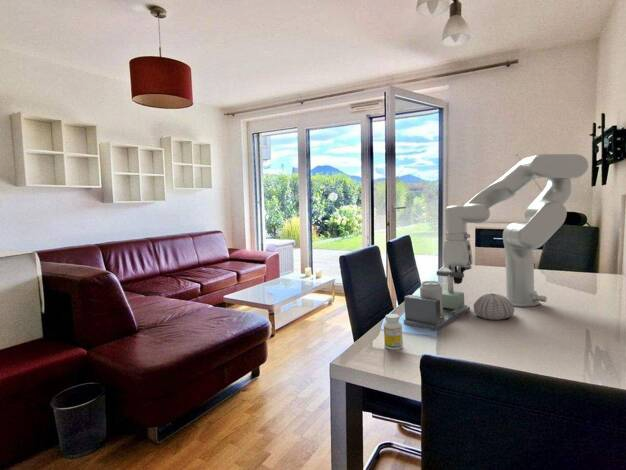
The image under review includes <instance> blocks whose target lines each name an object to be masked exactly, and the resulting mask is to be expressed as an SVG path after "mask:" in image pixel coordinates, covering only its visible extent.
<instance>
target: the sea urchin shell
mask: <svg viewBox="0 0 626 470" xmlns="http://www.w3.org/2000/svg"><path fill="white" fill-rule="evenodd" d="M472 308H473V311H474V313H475V314H476V315H477V316H478V317H480V318H483V319H485V320H493V321H495V320H505V319H508V318H510V317H512V316H513V315H514V313H515V311H516V310H515V306H513V304H512V303H511V302H510V301H509V300H508V299H507V298H506V296H504V295H502V294H497V293H487V294H486V293H485V294H483V295H481V296H480V297H478V298H477V299H476V300H475V302H474V303H473V307H472Z"/></svg>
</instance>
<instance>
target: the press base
mask: <svg viewBox="0 0 626 470" xmlns="http://www.w3.org/2000/svg"><path fill="white" fill-rule="evenodd" d="M403 299H404V300H403V302H404V303H403V304H404V316H405V318H404V319H403V325H409V326H413V327H414V326H415V327H416V328H417V327H418V328H423V329H426V330H431V331H437V330H439V329H440V328H442V327H444V326H446V325H447V324H449V323H451V322H452V321H455V320H456V319H458V318H460V317H461V316H464V315H465V314H467V313H469V312H470V311H471V307H470V306H468V304H464V305H463V306H461V307H459V308H457V309H450V308H444V307H443V314H442V315H441V313H440V300H439V299H432V298H426V297H420V295H412V294H408V295H405V296H403Z"/></svg>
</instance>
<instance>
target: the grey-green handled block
mask: <svg viewBox="0 0 626 470" xmlns="http://www.w3.org/2000/svg"><path fill="white" fill-rule="evenodd" d="M436 276H439V277H446V279H447V290H446V289H445V290H444V289H442V301H443V307H444V308H450V309H457V308H459V307H461V306H463V305H465V293H464V292H460V291H454V280H453V277H457V278H464V277H465V272H463V273H460V272H452V271H448V270H440V269H439V270H437V271H436Z"/></svg>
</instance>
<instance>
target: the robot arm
mask: <svg viewBox="0 0 626 470" xmlns="http://www.w3.org/2000/svg"><path fill="white" fill-rule="evenodd" d="M588 169H589V161H588V159H587V158H586V157H585V156H584V155H581V154H577V153H538V154H534V155H530V156H526V157H524V158H523V159H521V160H520V161H519V162H517V164H515V165H514V166H513V167H511V168H510V169H509V170H508V171H507V172H506V173H504V175H502V176H501V177H500V178H498V179H497V180H495V181H494V182H493V183H491V184H490V185H489V186H487V187H486V188H483V190H481V191H480V192H477V194H476V195H475V196H473V197H472V198H471V199H470V200H468V202H466V203H465V204H464V205H463V204H459V205H457V204H456V205H449V206H446V207H445V211H444V212H445V213H444V214H445V232H446V233H445V235H446V236H445V237H446V239H445V240H444V244H443V255H442V256H443V257H442V258H443V261H442V262H443V268H446V269H448V270H450V272H460V273H465V271H468V270H472V265H473V252H472V245H471V241H470V240H468V239H470V238H471V234H468V229H467V228H468V227H467V226H468V225H467V224H483V223H485V222H487V221H488V219H489V218H490V216H491V210H490V208H492V207H494V206H495V205H497V204H499V203H502V202H504V201H507V200H510V199H511V198H514V197H516V195H518V193H520V192H521V191H522V190H523V189H525V188H526V187H527V186H528V185H530V184H531V183H532V182H533V181H534V180H536V179H540V178H546V180H547V182H546V183H547V184H546V186H545V187H544V189H543V190H542V192H540V194H539V195H538V196H537V197H536V198H535V199H534V200H533V201H532V202H531V203H530V204H529V206H527V207H526V210H525V211H524V219H525V220H526V222H523V221H522V222H520V221H515V222H511V223H509V224H508V225H506V226H505V228H504V229H503V231H502V241H503V246H504V252H505V253H504V255H505V279H506V280H505V281H506V282H505V283H506V285H505V286H506V288H505V289H506V296H505V297H506V298H507V299H508V300H509V301H510V302H511V303H512V304H513V307H523V308H524V307H525V308H527V307H529V308H530V307H535V306H539V304H540V302H543V303H546V302H547V301H548V297H547V296H546V295H540V294H538V291H536V290H535V272H534V271H535V269H534V264H535V263H534V261H535V260H534V252H533V250H536V249H539V248H541V247H542V246H544V245H545V244H546V243H547V241H548V240H549V239H551V237H552V236H553V235H554V234H555V233H556V232H557V231H558V230H559V229H560V228H561V227H562V226H563V224H565V221H566V218H567V214H568V212H567V209H566V207H565V205H564V204H565V203H566V202H567V201H568V199H569V198H570V196H571V193H572V181H571V179H577V178H580V177H582V176H583V175H585V174H586V173H587V171H588ZM463 278H464V277H463ZM463 278H457V277H453V285H455V284H457V285H459V284H462V283H463Z"/></svg>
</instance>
